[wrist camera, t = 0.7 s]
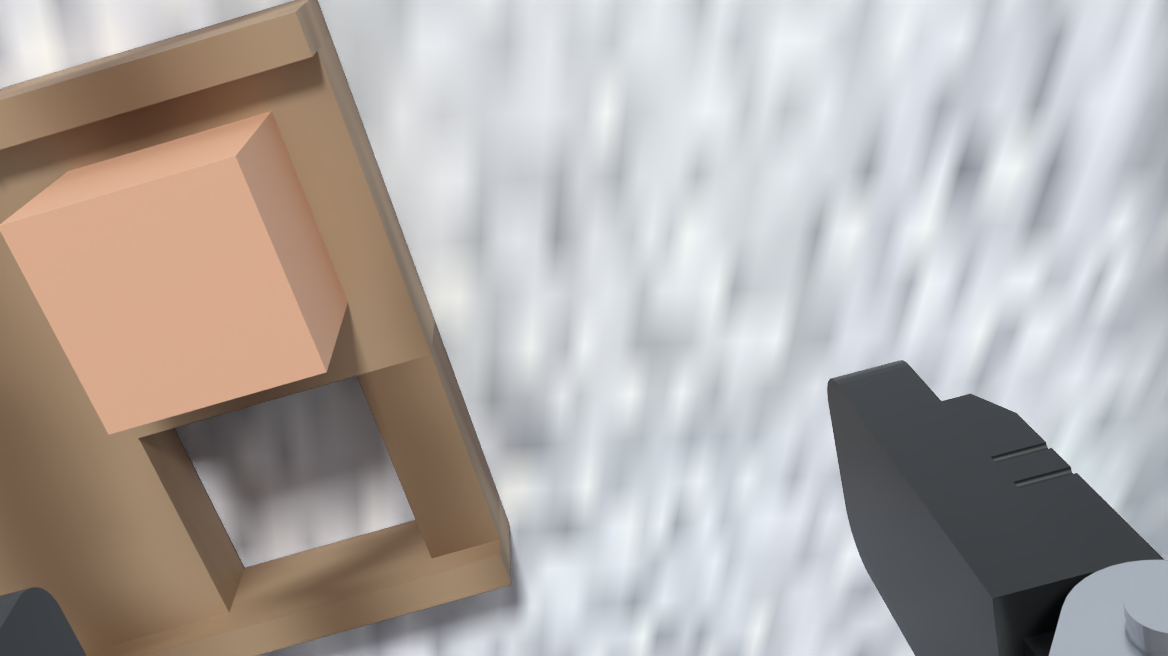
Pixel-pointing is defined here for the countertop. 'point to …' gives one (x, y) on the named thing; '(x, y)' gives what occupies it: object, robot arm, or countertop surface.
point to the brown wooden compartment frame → (154, 451)
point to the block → (182, 273)
